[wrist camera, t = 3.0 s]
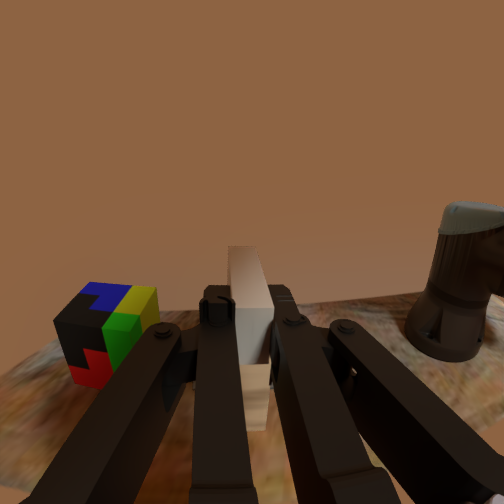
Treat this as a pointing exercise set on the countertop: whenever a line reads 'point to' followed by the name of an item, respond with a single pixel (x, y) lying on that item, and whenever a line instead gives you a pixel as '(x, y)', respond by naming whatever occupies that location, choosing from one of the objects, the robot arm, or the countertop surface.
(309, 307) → the countertop surface
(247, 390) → the beech block
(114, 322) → the puzzle toy
